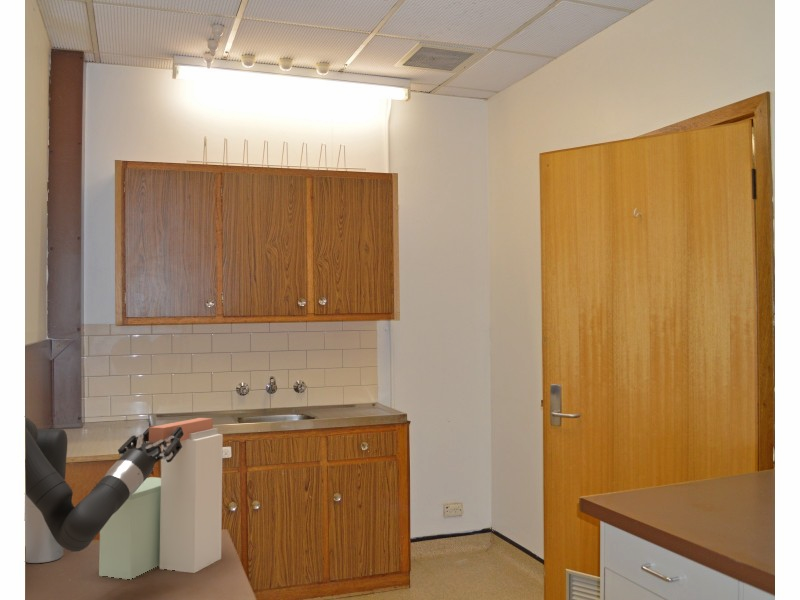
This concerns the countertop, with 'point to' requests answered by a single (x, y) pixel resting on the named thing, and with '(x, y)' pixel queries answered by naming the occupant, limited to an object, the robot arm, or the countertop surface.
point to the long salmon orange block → (187, 427)
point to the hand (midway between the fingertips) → (167, 429)
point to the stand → (192, 504)
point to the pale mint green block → (133, 534)
